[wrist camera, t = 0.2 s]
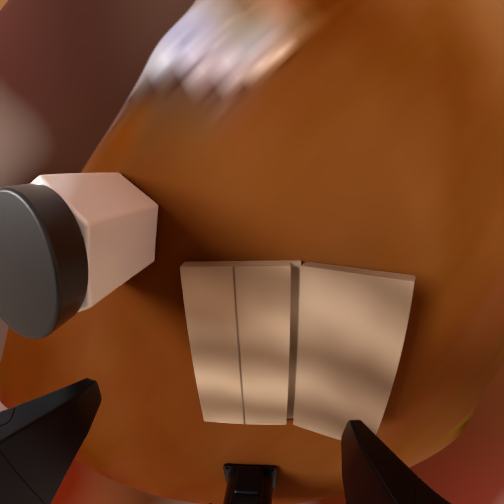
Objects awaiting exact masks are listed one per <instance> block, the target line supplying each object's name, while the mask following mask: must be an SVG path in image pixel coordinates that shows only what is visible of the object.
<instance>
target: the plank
mask: <svg viewBox="0 0 504 504" xmlns="http://www.w3.org/2000/svg"><path fill="white" fill-rule="evenodd" d="M415 277H416V276H414V275H406V274H398V273H391V272H383V271H376V270H368V269H361V268H353V267H346V266H338V265H331V264H323V263H316V262H308V261H307V262H305V263H303V264H302V265H300V299H299V332H298V356H297V375H296V391H295V406H294V419H293V425H296V426H299V427H301V428H304V429H307V430H310V431H313V432H316V433H319V434H322V435H325V436H329V437H332V438H335V439H338V440H341V437H342V434H343V431H344V429H345V427H346V424H347V422H348V421H349V420H357V419H359V420H361V421H362V422H363V423H364V424H365V425H366V426H367V427H368V428H369V429H370V430H371V431H372V432H373V433H374V434H375V435H377V432H378V429H379V427H380V424H381V421H382V418H383V415H384V412H385V409H386V406H387V403H388V400H389V397H390V394H391V390H392V387H393V384H394V380H395V376H396V373H397V369H398V365H399V361H400V357H401V353H402V349H403V345H404V340H405V336H406V331H407V326H408V321H409V316H410V310H411V304H412V298H413V292H414V285H415Z"/></svg>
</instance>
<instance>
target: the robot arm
mask: <svg viewBox="0 0 504 504" xmlns="http://www.w3.org/2000/svg"><path fill="white" fill-rule="evenodd" d="M100 403H101V393H100V390H99V386H98V383H97V382H96V381H95V380H92V379H89V378H86V379H83V380H81V381H79V382H76V383H74V384H71V385H69V386H67V387H64V388H62V389H59V390H57V391H54V392H52V393H49V394H47V395H44V396H42V397H39V398H36V399H34V400H31V401H29V402H26V403H23V404H21V405H18V406H16V407H12V408H10V409H7V410H4V411H1V412H0V504H51V502H52V500H53V498H54V496H55V494H56V492H57V490H58V488H59V486H60V484H61V482H62V480H63V478H64V476H65V474H66V473H67V471H68V469H69V467H70V465H71V463H72V461H73V459H74V458H75V456H76V454H77V452H78V450H79V448H80V446H81V445H82V443H83V441H84V439H85V437H86V436H87V434H88V432H89V429H90V427H91V425H92V422H93V420H94V417H95V415H96V413H97V410H98V408H99V406H100ZM341 449H342V477H343V485H344V491H345V499H346V504H451V503H450V502H448V501H447V500H445V499H444V498H443V497H441V496H440V495H439V494H437V493H436V492H435V491H433V490H432V489H431V488H430V487H429V486H428V485H427V484H426V483H424V482H423V481H422V480H421V479H420V478H418V476H417V475H416V474H415V473H414V472H413V471H412V470H411V469H410V468H409V467H408V466H407V465H405V464H404V463H403V462H402V461H401V460H400V459H399V458H398V457H397V456H396V455H395V454H394V453H393V452H392V451H391V450H390V449H389V448H388V447H387V446H386V445H385V444H384V443H383V442H382V441H381V440H380V439H379V438H378V437H377V436H376V435H375V434H374V433H373V432H372V431H371V430H370V429H369V428H368V427H367V426H366V425H365V424H364V423H363V422H362V421H361V420H359V419H357V420H349V421H348V422H347V424H346V427H345V429H344V431H343V434H342V437H341ZM223 469H224V474H225V478H226V482H227V487H226V492H225V498H224V503H223V504H272V490H275V489H276V473H277V467H276V466H255V465H237V464H224V466H223ZM209 504H210V503H209Z"/></svg>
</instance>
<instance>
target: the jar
mask: <svg viewBox="0 0 504 504" xmlns="http://www.w3.org/2000/svg"><path fill="white" fill-rule="evenodd" d="M157 216H158V204H157V203H155V202H154V201H153V200H152V199H151V198H149V197H148V196H147V195H146V194H144V193H143V192H142V191H141V190H139V189H138V188H137V187H136V186H135V185H133V184H132V183H131V182H130V181H129V180H127V179H126V178H125V177H124V176H122V175H121V174H120V173H72V174H51V175H40V176H38V177H37V178H36V179H35V180H34V181H33V182H31V183H30V184H24V185H15V186H8V187H2V188H0V318H1V319H2V320H3V321H4V322H5V323H6V324H7V325H8V326H9V327H10V328H11V329H12V330H14V331H15V332H16V333H18V334H20V335H22V336H24V337H27V338H31V339H41V338H44V337H46V336H48V335H49V334H51V333H52V332H53V331H55V330H56V329H57V328H59V327H60V326H61V325H62V324H64V323H65V322H66V321H68V320H69V319H70V318H72V317H73V316H74V315H75V314H76V313H78V312H80V311H83V310H86V309H88V308H91V307H92V306H94V305H95V304H96V303H98V302H99V301H100V300H102V299H103V298H104V297H106V296H107V295H108V294H110V293H111V292H112V291H114V290H115V289H117V288H118V287H119V286H121V285H122V284H123V283H125V282H126V281H128V280H129V279H130V278H132V277H133V276H134V275H136V274H137V273H139V272H140V271H141V270H143V269H144V268H146V267H147V266H148V265H150V264H151V263H153V262H154V260H155V244H156V229H157Z"/></svg>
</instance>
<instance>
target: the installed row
mask: <svg viewBox="0 0 504 504" xmlns="http://www.w3.org/2000/svg"><path fill="white" fill-rule="evenodd" d="M300 265H301V260H278V261H189V262H184V263H183V264H182V265H181V266H180V274H181V283H182V291H183V299H184V307H185V314H186V321H187V328H188V335H189V342H190V348H191V354H192V360H193V366H194V372H195V377H196V383H197V388H198V393H199V399H200V404H201V408H202V413H203V418H204V421H209V422H220V423H234V424H258V425H286V420H287V418H294V406H295V391H296V375H297V356H298V332H299V299H300Z"/></svg>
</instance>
